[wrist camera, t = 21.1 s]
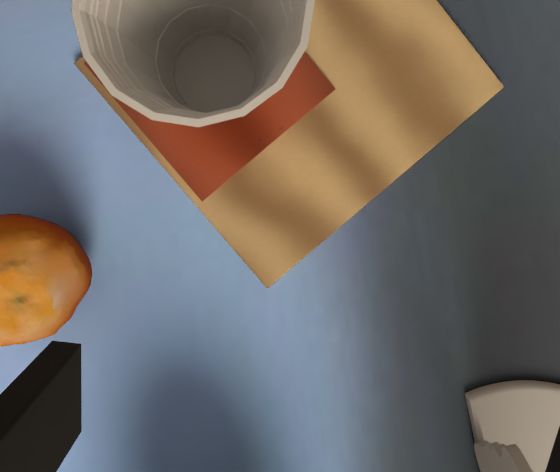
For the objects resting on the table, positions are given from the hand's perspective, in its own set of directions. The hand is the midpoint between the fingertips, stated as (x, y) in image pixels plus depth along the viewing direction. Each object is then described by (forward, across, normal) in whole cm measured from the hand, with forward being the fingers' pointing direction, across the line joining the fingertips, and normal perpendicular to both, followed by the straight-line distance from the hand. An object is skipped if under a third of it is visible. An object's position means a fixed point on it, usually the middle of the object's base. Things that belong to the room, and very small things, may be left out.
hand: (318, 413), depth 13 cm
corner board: (+25, -2, +9) cm, 26 cm away
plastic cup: (+24, -7, +9) cm, 26 cm away
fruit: (+20, -18, -5) cm, 27 cm away
